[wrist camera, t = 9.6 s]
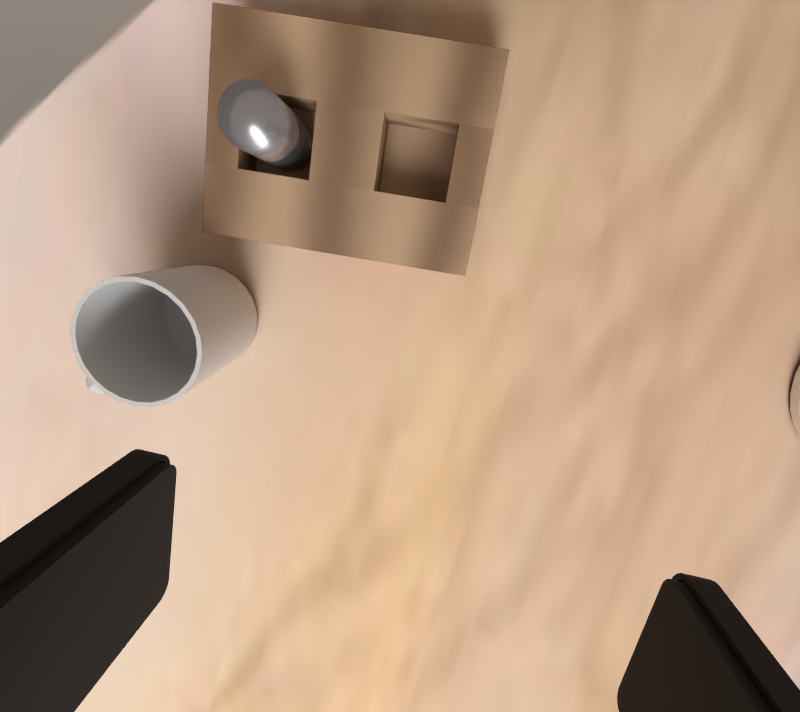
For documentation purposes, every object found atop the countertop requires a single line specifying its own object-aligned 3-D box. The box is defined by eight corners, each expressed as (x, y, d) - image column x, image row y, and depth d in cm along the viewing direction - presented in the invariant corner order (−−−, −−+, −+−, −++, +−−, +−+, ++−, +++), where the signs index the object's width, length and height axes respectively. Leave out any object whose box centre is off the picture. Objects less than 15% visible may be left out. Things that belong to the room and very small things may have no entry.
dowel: (317, 120, 29) (284, 83, 22) (313, 174, 30) (279, 155, 23) (266, 113, 29) (217, 75, 22) (263, 168, 30) (215, 147, 23)
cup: (280, 326, 34) (229, 359, 25) (181, 401, 36) (102, 456, 27) (213, 242, 32) (136, 247, 24) (114, 325, 34) (10, 357, 26)
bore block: (498, 73, 29) (509, 49, 25) (460, 270, 32) (465, 275, 28) (241, 32, 29) (212, 2, 25) (229, 231, 32) (202, 232, 28)
